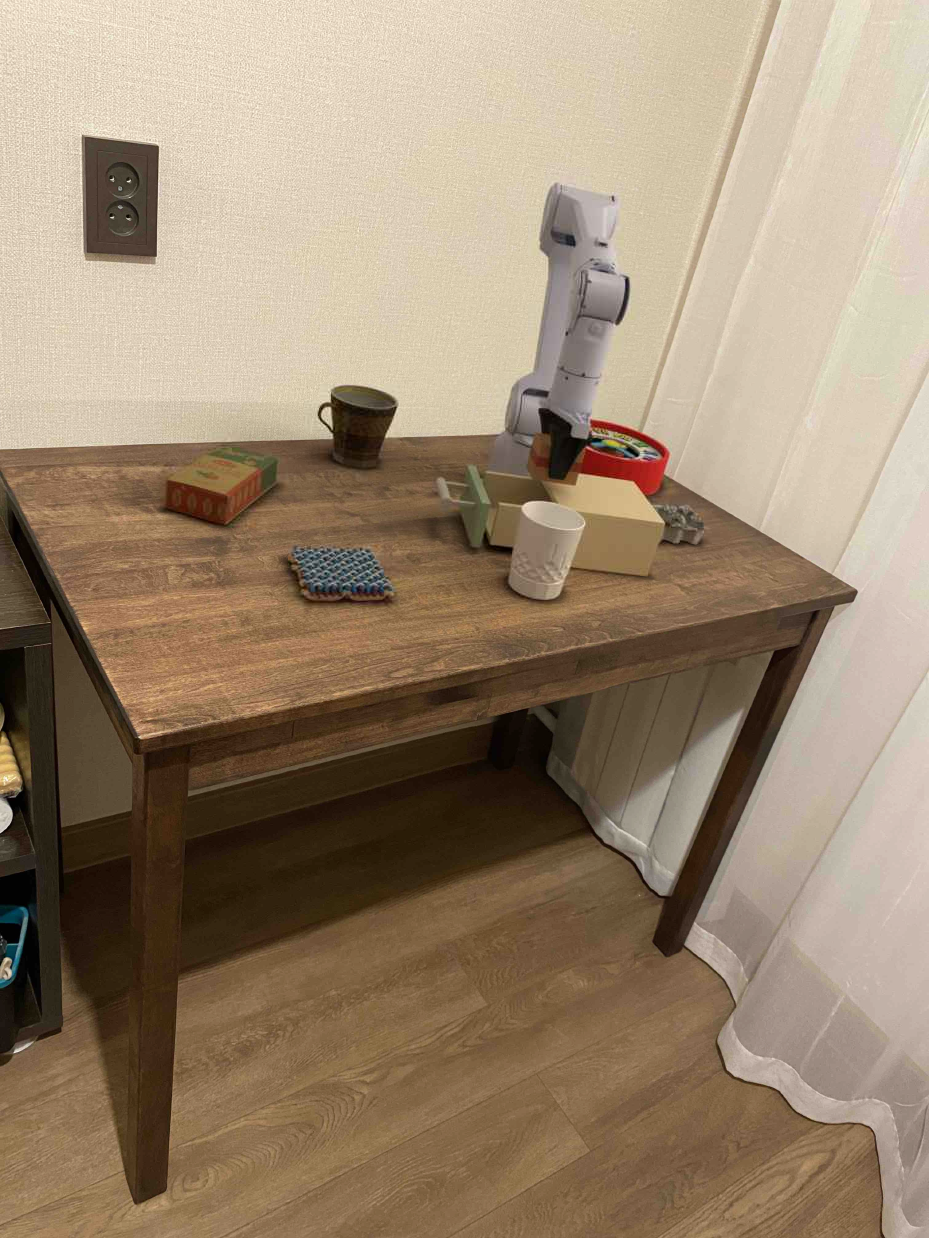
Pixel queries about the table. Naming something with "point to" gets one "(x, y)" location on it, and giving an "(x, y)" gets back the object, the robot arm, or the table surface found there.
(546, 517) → the white cup
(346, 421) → the ceramic cup
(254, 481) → the carton
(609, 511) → the shallow tan box
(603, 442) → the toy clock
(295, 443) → the table surface
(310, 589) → the woven mat
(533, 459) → the packet
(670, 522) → the egg carton
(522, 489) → the drawer
